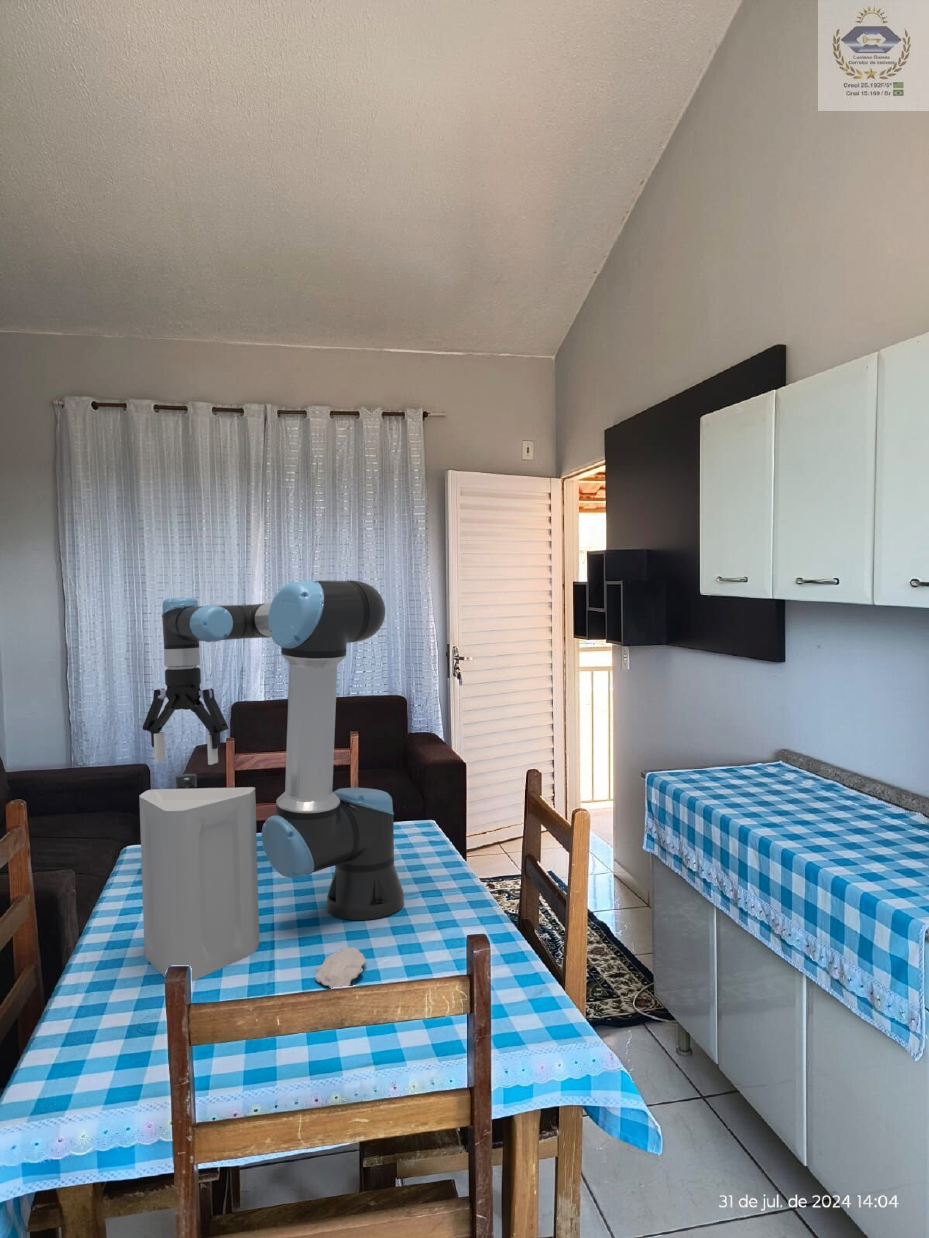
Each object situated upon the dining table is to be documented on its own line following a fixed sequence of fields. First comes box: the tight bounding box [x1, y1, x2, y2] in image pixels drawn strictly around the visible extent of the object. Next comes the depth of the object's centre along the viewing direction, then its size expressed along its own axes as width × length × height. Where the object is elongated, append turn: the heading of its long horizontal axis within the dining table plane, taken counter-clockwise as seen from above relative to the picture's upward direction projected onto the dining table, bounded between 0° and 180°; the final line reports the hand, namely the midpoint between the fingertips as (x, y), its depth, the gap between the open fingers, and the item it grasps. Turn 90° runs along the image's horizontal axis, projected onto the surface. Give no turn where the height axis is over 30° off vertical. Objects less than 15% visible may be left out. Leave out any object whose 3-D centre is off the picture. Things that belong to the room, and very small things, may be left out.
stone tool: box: [314, 946, 367, 989], centre depth 133 cm, size 8×3×15 cm
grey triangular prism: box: [138, 786, 260, 982], centre depth 138 cm, size 19×15×28 cm
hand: (186, 762), depth 181 cm, fingers open, 13 cm apart
